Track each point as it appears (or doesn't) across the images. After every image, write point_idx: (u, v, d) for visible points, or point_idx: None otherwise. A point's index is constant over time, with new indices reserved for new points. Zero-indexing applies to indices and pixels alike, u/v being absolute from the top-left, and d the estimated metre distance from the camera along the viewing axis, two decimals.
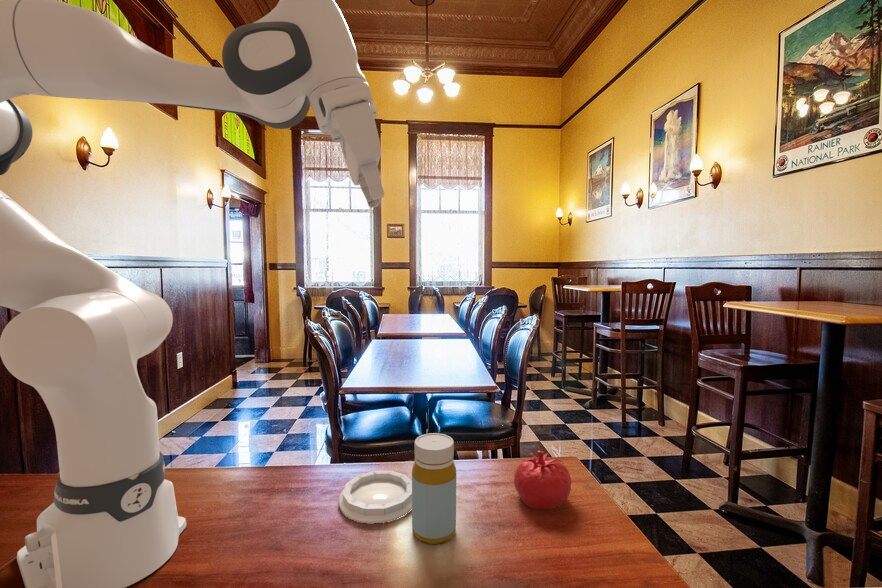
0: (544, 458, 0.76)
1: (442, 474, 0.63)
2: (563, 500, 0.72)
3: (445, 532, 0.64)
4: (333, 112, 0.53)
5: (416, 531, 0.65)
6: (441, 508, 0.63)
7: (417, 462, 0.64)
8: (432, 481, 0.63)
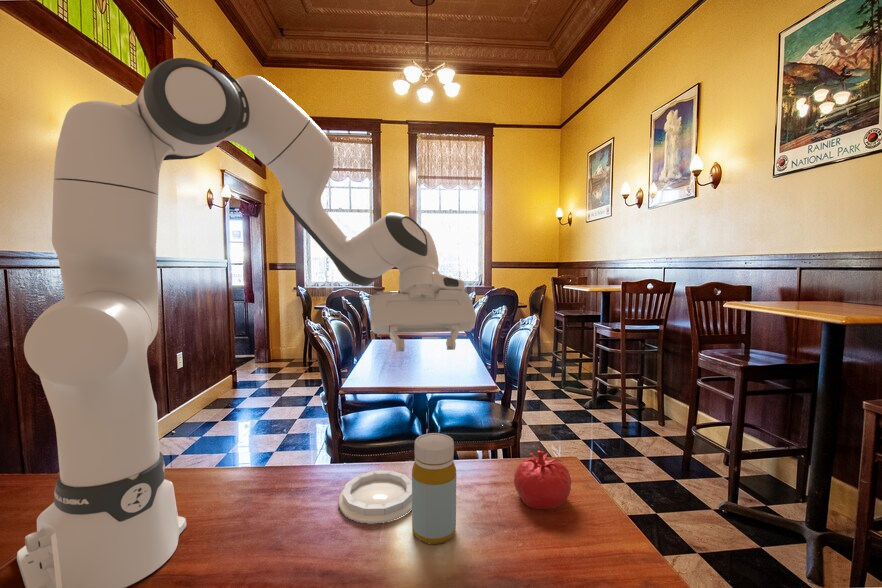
0: (544, 458, 0.76)
1: (442, 474, 0.63)
2: (563, 500, 0.72)
3: (445, 532, 0.64)
4: (465, 292, 0.83)
5: (416, 531, 0.65)
6: (441, 508, 0.63)
7: (417, 462, 0.64)
8: (432, 481, 0.63)
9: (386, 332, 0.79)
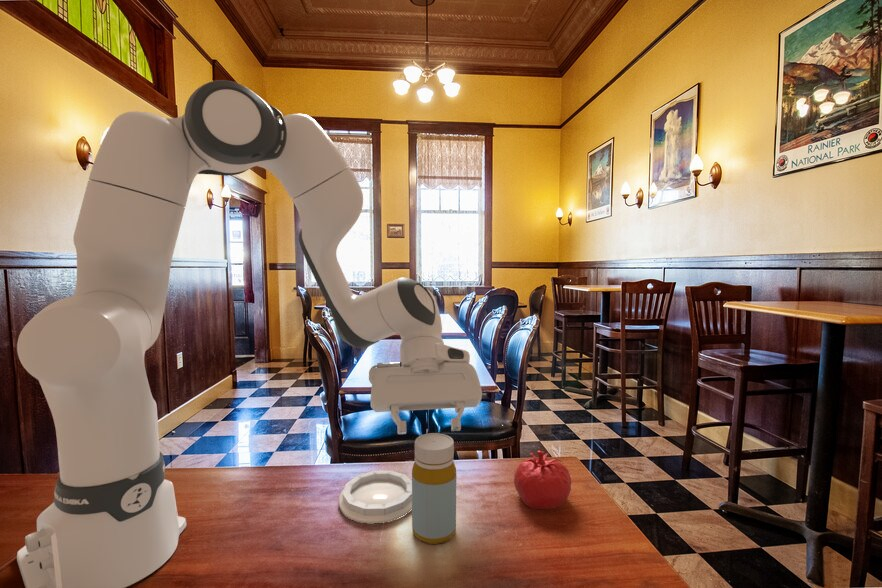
0: (544, 458, 0.76)
1: (442, 474, 0.63)
2: (563, 500, 0.72)
3: (445, 532, 0.64)
4: (470, 364, 0.79)
5: (416, 531, 0.65)
6: (441, 508, 0.63)
7: (417, 462, 0.64)
8: (432, 481, 0.63)
9: (387, 410, 0.75)
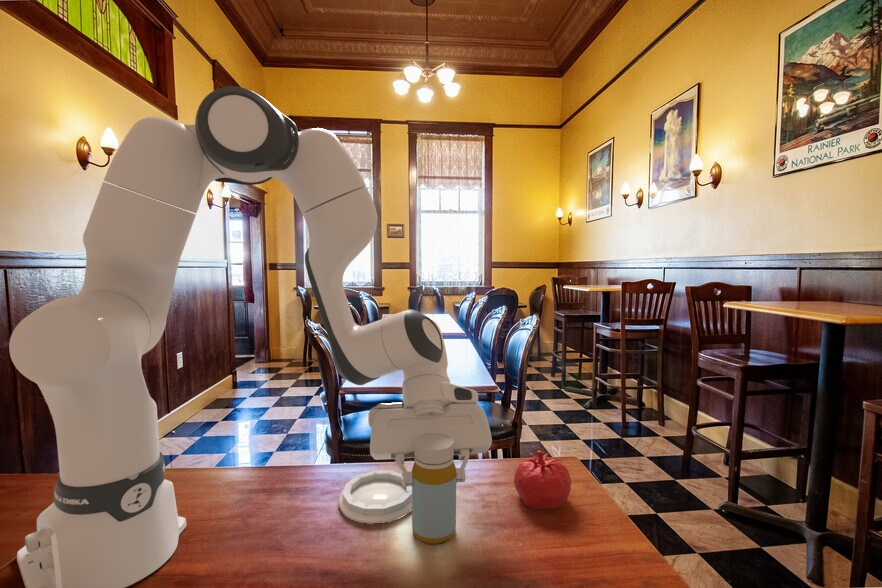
0: (544, 458, 0.76)
1: (442, 474, 0.63)
2: (563, 500, 0.72)
3: (445, 532, 0.64)
4: (479, 406, 0.72)
5: (416, 530, 0.65)
6: (441, 508, 0.63)
7: (417, 462, 0.64)
8: (432, 481, 0.63)
9: (388, 458, 0.68)
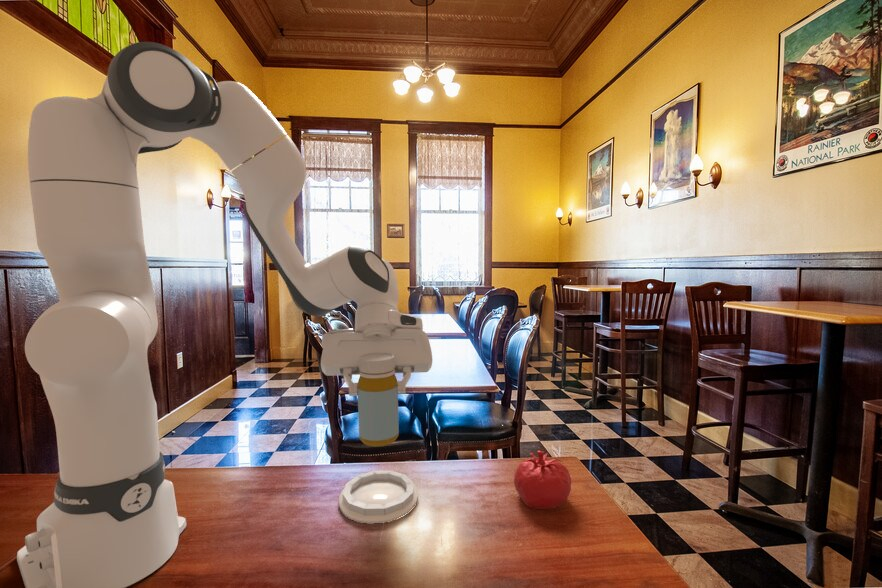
0: (544, 458, 0.76)
1: (382, 382, 0.71)
2: (563, 500, 0.72)
3: (386, 435, 0.72)
4: (423, 331, 0.80)
5: (361, 435, 0.72)
6: (382, 413, 0.71)
7: (361, 374, 0.72)
8: (373, 388, 0.70)
9: (338, 374, 0.76)
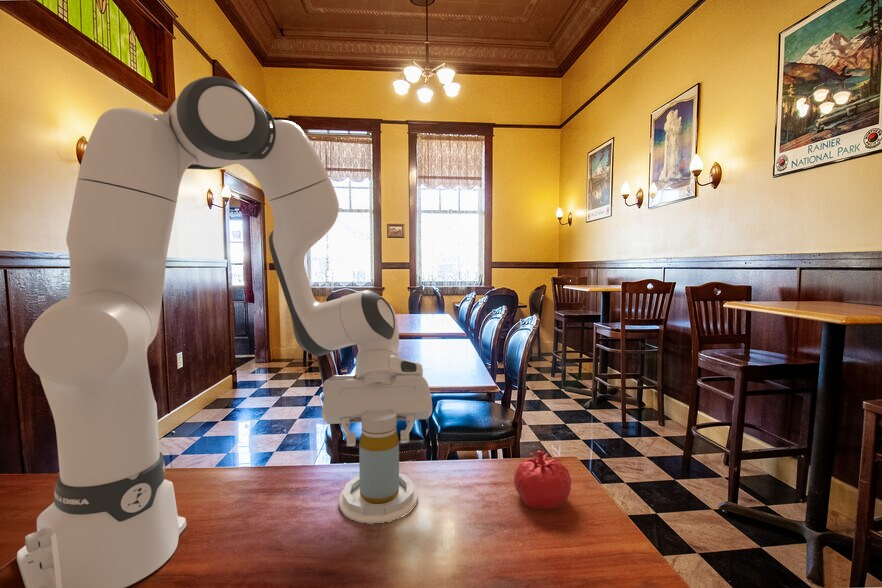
0: (544, 458, 0.76)
1: (384, 441, 0.72)
2: (563, 500, 0.72)
3: (387, 493, 0.72)
4: (423, 377, 0.81)
5: (362, 492, 0.73)
6: (383, 472, 0.72)
7: (363, 432, 0.73)
8: (375, 448, 0.71)
9: (339, 422, 0.77)
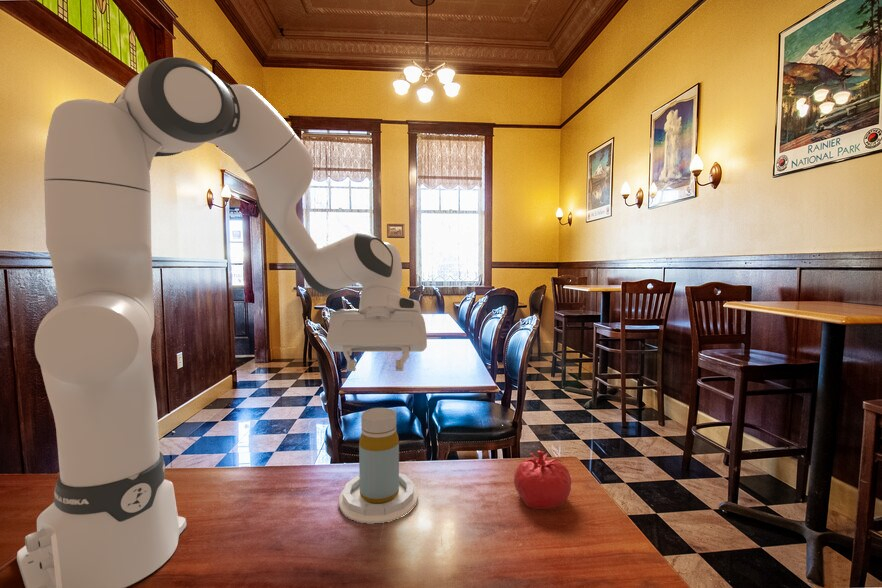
0: (544, 458, 0.76)
1: (384, 441, 0.72)
2: (563, 500, 0.72)
3: (387, 493, 0.72)
4: (419, 313, 0.86)
5: (362, 492, 0.73)
6: (383, 472, 0.72)
7: (363, 432, 0.73)
8: (375, 448, 0.71)
9: (342, 350, 0.85)
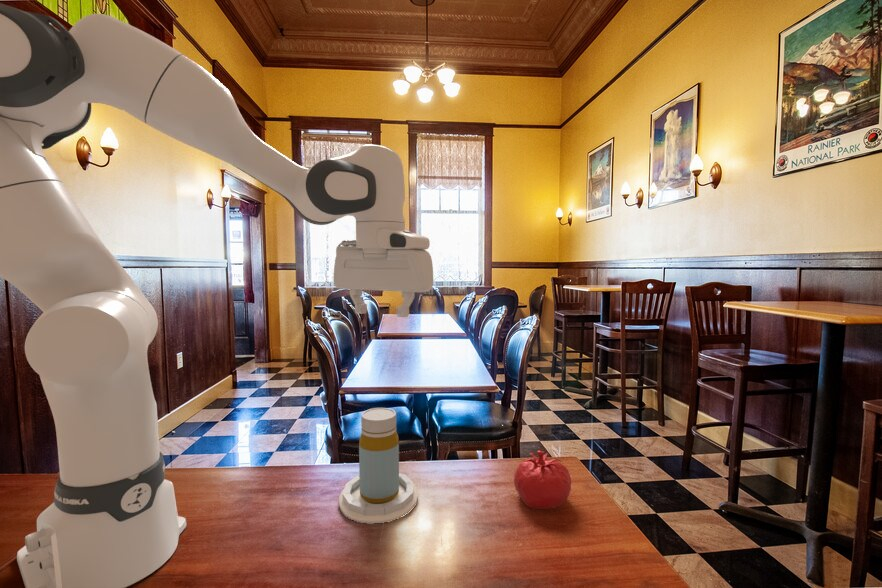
0: (544, 458, 0.76)
1: (384, 441, 0.72)
2: (563, 500, 0.72)
3: (387, 493, 0.72)
4: (414, 252, 0.70)
5: (362, 492, 0.73)
6: (383, 472, 0.72)
7: (363, 432, 0.73)
8: (375, 448, 0.71)
9: None
